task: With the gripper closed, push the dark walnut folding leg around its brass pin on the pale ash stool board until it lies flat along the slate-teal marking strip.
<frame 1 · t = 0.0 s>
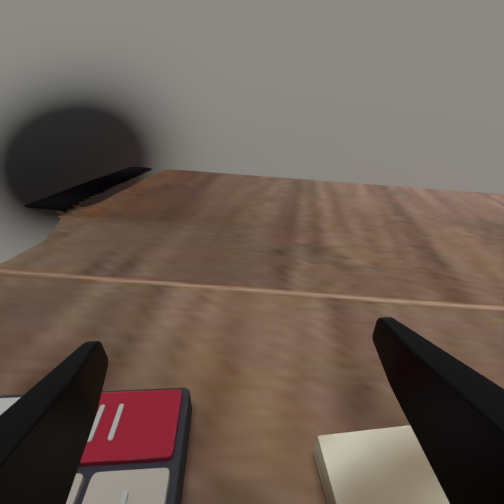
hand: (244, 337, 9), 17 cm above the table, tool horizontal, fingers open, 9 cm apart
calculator: (76, 495, 19), on the table
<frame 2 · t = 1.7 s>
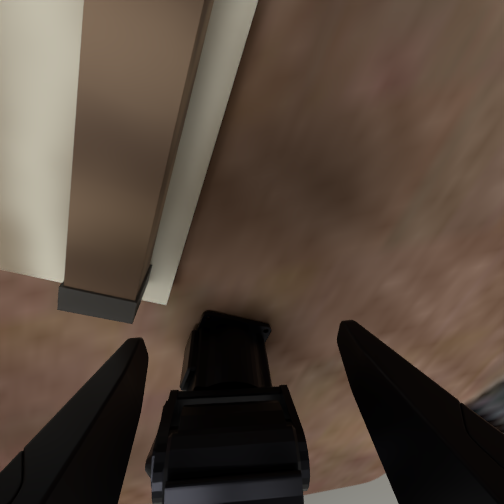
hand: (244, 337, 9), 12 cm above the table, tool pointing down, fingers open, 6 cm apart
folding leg: (132, 138, 12), point 5 cm above the table, hinge at 90.0°
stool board: (10, 65, 14), on the table
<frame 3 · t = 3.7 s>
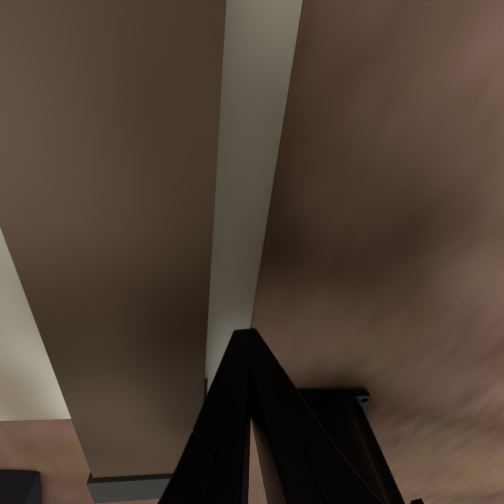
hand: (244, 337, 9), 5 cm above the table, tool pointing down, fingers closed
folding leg: (138, 259, 7), point 5 cm above the table, hinge at 89.9°, touching gripper
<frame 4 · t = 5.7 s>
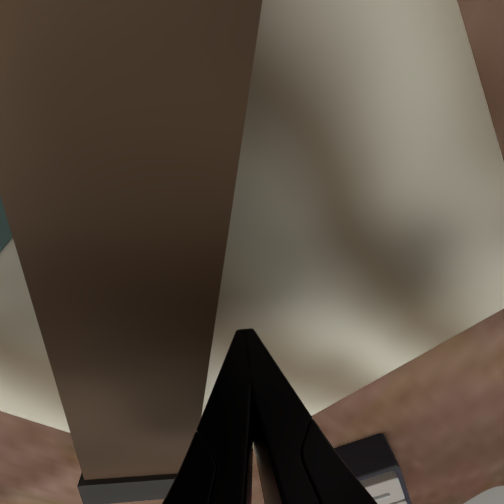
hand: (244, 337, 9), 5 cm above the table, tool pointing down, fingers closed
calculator: (339, 471, 29), on the table
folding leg: (143, 258, 6), point 5 cm above the table, hinge at 39.2°, touching gripper
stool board: (193, 254, 12), on the table
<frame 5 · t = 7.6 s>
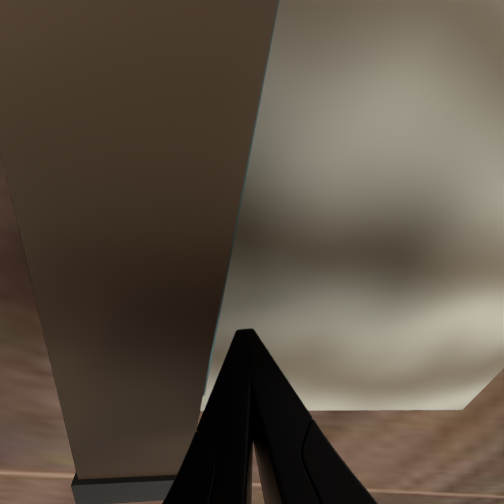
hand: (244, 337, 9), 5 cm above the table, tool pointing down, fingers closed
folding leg: (147, 258, 6), point 5 cm above the table, hinge at -0.2°, touching gripper
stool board: (348, 213, 12), on the table
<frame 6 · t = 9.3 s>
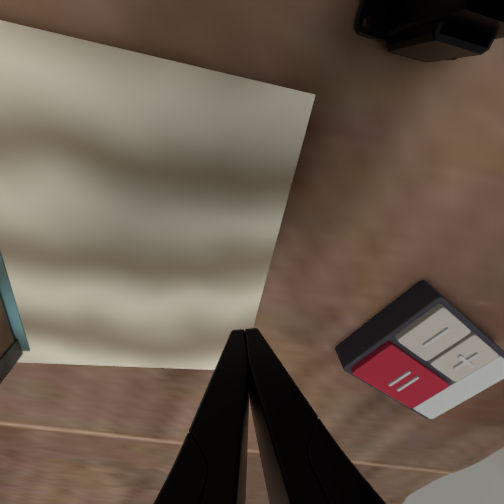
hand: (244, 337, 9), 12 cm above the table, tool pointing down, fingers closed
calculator: (412, 340, 30), on the table
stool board: (106, 234, 19), on the table
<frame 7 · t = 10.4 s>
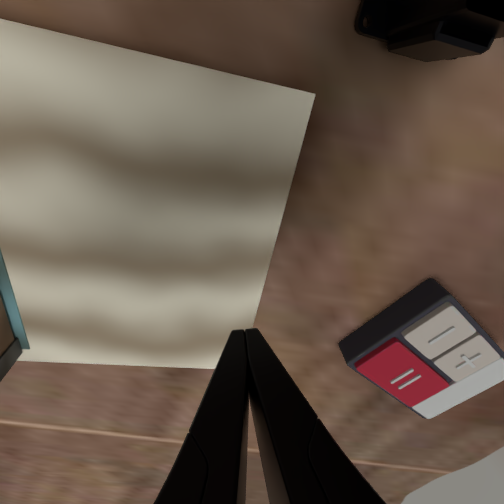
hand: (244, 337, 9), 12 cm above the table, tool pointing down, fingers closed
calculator: (414, 339, 30), on the table
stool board: (106, 233, 19), on the table
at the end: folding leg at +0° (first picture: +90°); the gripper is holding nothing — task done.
